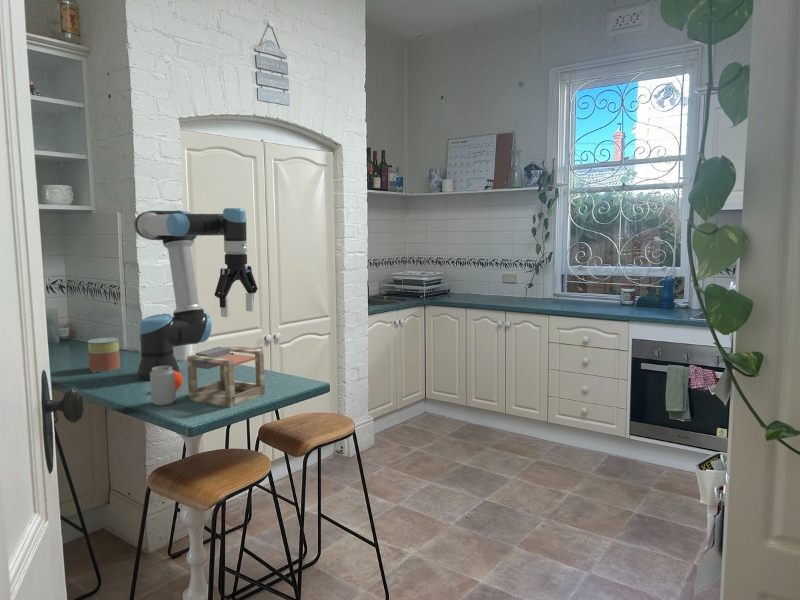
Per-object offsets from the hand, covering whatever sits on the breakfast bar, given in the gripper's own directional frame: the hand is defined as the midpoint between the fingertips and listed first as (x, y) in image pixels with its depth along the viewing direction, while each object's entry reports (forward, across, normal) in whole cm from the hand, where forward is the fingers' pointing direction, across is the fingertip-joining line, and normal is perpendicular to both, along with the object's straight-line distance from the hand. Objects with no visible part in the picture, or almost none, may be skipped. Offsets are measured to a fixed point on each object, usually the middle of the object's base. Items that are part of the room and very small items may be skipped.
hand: (237, 314), depth 207 cm
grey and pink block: (+16, -10, -2) cm, 19 cm away
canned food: (+28, +3, +70) cm, 75 cm away
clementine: (+27, -10, +22) cm, 36 cm away
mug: (+28, +31, +54) cm, 68 cm away
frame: (+27, -10, -2) cm, 29 cm away
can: (+27, -23, +12) cm, 38 cm away
